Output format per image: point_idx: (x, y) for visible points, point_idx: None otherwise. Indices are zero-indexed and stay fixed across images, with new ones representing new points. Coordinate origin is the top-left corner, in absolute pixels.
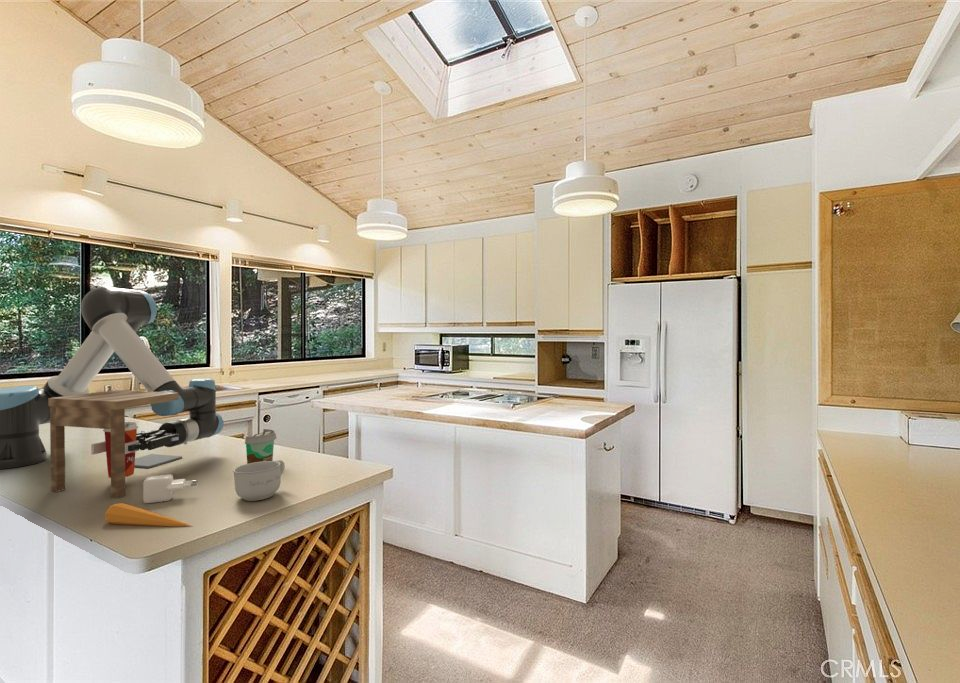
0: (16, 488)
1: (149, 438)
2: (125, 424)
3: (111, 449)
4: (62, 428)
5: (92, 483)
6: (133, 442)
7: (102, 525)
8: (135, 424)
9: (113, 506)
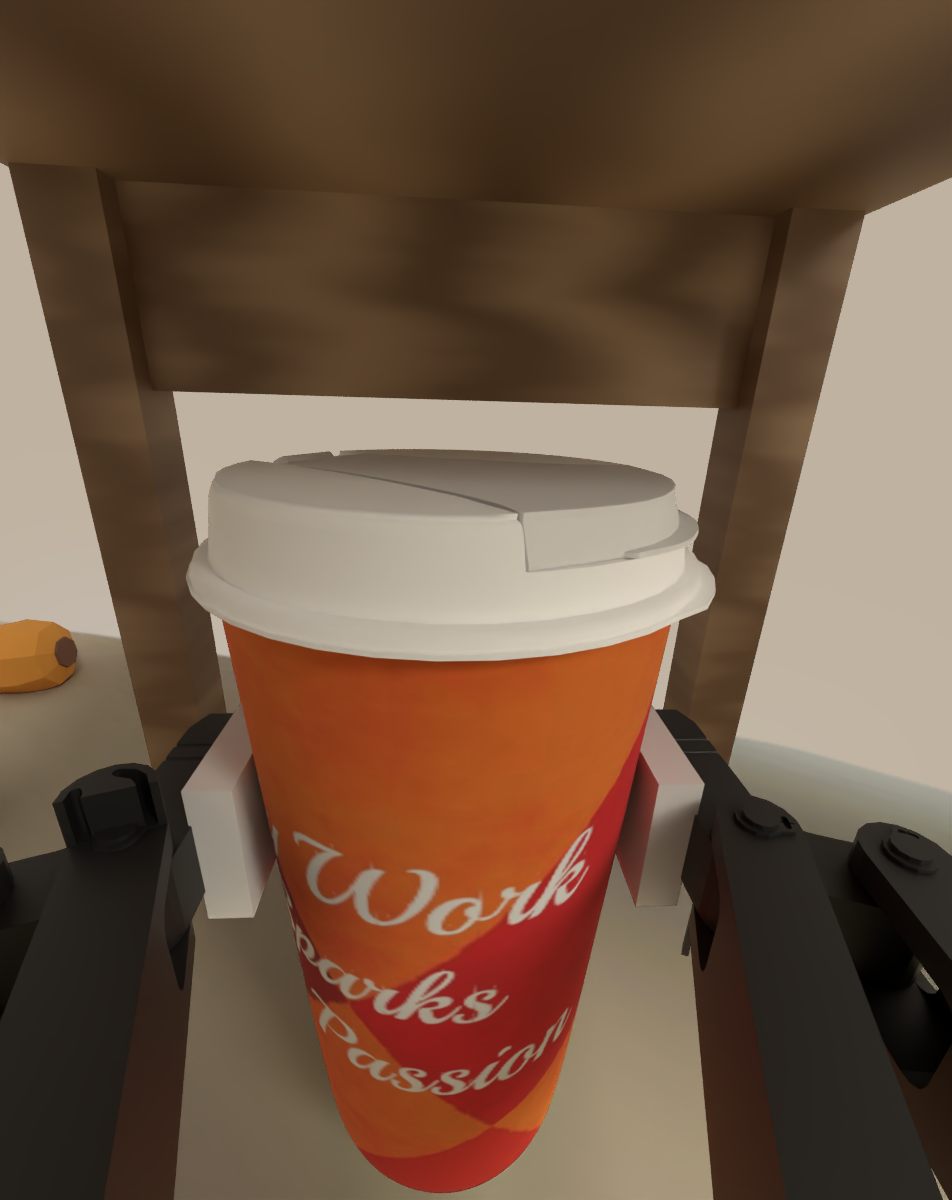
0: (900, 794)
1: (35, 1071)
2: (349, 467)
3: (192, 547)
4: (734, 443)
5: (666, 985)
6: (221, 734)
7: (87, 664)
8: (214, 504)
9: (36, 621)
